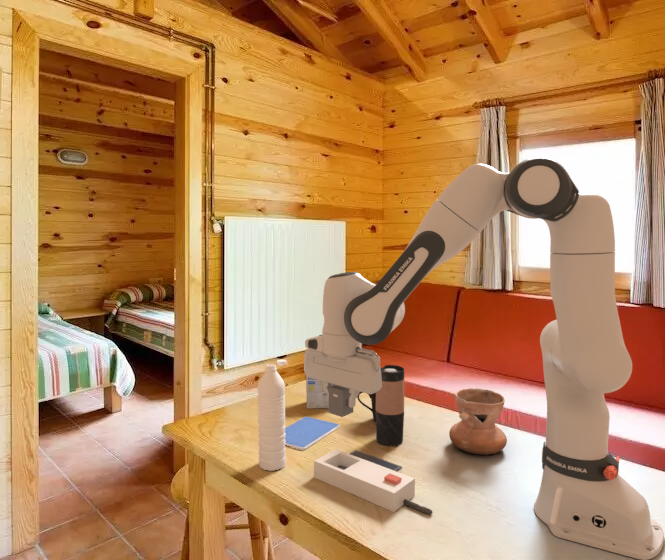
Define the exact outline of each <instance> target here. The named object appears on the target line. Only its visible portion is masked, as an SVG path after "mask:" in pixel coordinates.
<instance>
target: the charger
mask: <svg viewBox="0 0 665 560" xmlns="http://www.w3.org/2000/svg"><path fill="white" fill-rule="evenodd" d="M350 396H351V393H349V388H345V387H342V386H338V385H333V386H330V387H329V408H328V414H331V415H335V416H338V417H341V418H343V417H346V416H348V415H350V414H352V413H354V407H352V408H350V407H347V406H346V399H347V398H350Z"/></svg>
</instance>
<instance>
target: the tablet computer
mask: <svg viewBox="0 0 665 560" xmlns="http://www.w3.org/2000/svg"><path fill="white" fill-rule="evenodd" d="M340 428H341V425H340V424H339V423H335V422H331V421H327V420H323V419H319V418H314V417H310V416H304V417H302V418H300V419H298V420H297V421H295V422H293V423H291V424H289V425H288V426H285V441H286V444H285V445H287V446H291V447H294V448H297V449H296V450H298V449H301V450H300V451H306V450H307V449H308V448H309V447H312V446H313V445H314V444H316V443H317V442H319V441H320V440H322V439H323V438H325V437H326V436H328V435H330V434H331V433H333V432H334V431H336V430H338V429H340ZM287 446H286V447H287ZM291 447H290V448H291ZM294 448H293V449H294Z"/></svg>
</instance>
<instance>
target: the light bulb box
mask: <svg viewBox="0 0 665 560" xmlns="http://www.w3.org/2000/svg"><path fill="white" fill-rule="evenodd" d="M305 376H306V375H305ZM305 378H306V379H305V381H306V382H305V383H306V384H305V385H306V386H305V388H306V391H305V392H306V393H305V394H306V396H305V397H306V409H307V408H308V409H329V401H328V400H327V393H326V391H325V388H324V386H323V381H320V380H317V379H313V378H309V377H307V376H306V377H305ZM333 385H335V384H333ZM333 385H332V386H333Z"/></svg>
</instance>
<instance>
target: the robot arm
mask: <svg viewBox="0 0 665 560" xmlns="http://www.w3.org/2000/svg"><path fill="white" fill-rule="evenodd" d="M611 209H612V208H611V206H610V203H609V202H608V200H607V199H606V198H605V197H603V196H602V195H599V194H595V193H592V192H580V190H579V189H578V187H577V185H576V184H575V183H574V181H573V180H572V178H571V176H570V175H569V172H568V171H567V170H566V169H565V168H564V166H563V165H561V163H559V162H558V161H557V160H555V159H553V158H550V157H546V156H533V157H529V158H526V159H523V160H522V161H521V162H519V163H518V164H517V165H515V167H514V168H513V169H512V170H510V171H509V172H501V171H498V170H497V169H496V168H494V167H493V166H490V165H488V164H486V163H474V164H471V165H468V167H466V169H464V170H463V171H462V172H461V173H459V174H458V175H457V176H456V177H455V178H454V179H453V181H451V182H450V183H449V184H448V185H447V187H445V189H444V190H443V191H442V192H441V193H440V195H439V196H438V197H437V199H435V201H434V202H433V203H432V205H431V206H430V208H429V209H428V211H427V212H426V214H425V215H424V217H423V218H422V220H421V222H420V224H419V225H418V227H417V229H416V231H415V232H414V234H413V236H412V238H411V240H409V242H408V244H407V246H406V247H405V250H403V252H402V253H401V254H400V256H399V257H398V258H397V259H396V260H395V262H394V263H392V265H391V267H390V268H389V269H388V270H387V271H386V272H385V274H384V275H383V276H382V277H381V278H380V280H378V282H377V283H373V282H371V281H370V280H368V279H367V278H365V277H364V276H362V274H360V273H359V272H357V271H348V272H342V273H341V272H340V273H336V274H332V275H330V276H329V277H328V278H327V279H326V280H325V281H324V282H325V283H324V286H323V287H324V288H323V294H322V296H323V297H322V315H323V318H324V319H323V325H322V326H323V327H322V332H321V333H322V334H319V335H317V336H312V337H310V338H307V339H305V341H304V345H305V348H306V350H305V351H304V355H303V356H304V358H303V371H304V374H305V376H307V377H309V378H313V379H317V380H320V381H323V386H324V388H325V391H326V393H327V400H328V401H329V387H330V386H332V385H333V384H335V385H338V386H342V387H345V388H349V393H351V396H350V398H347V399H346V406H347V407H350V408H352V407H353V408H355V406H356V400H357V399H358V398H357V396H358V395H359V393H360V392H363V393H362V394H367V395H368V394H374V393H376V392H378V391H379V390H380V389H381V387H382V378H381V368H382V367H381V357H380V356H379V354H377V353H376V351H375V350H372V349H366V348H363V347H362V345H368V346H373V345H377V344H381V343H382V342H383V341H384V340H386V339H387V338H388V336H389V335H390V334H391V333H392V331H394V330H395V329H396V328H397V327H398V326H399V325H400V324H401V323H402V322H403V320H404V318H405V314H406V304H405V301H406V300H407V299H408V298H409V297H410V295H411V294H412V293H413V291H414V290H416V288H417V287H418V286H419V284H421V283H422V281H423V280H424V279H425V278H426V277H427V276H428V275H430V273H431V272H433V271H434V270H435V269H436V268H438V267H440V266H441V265H442V264H444V263H447V262H448V261H449V260H451V259H453V258H455V257H456V256H457V255H458V254H460V253H461V252H462V251H464V250H465V249H466V248H467V247H469V245H470V244H471V243H472V242H473V241H475V239H476V238H477V237H478V236H479V235H480V233H481V232H482V231H483V230H484V229H485V227H487V225H488V224H489V223H490V222H491V221H492V219H493V218H495V216H497V215H498V214H499V213H501V212H503V211H507V212H510V213H512V214H514V215H517V216H520V217H521V218H522V217H524V218H526V219H540V220H543V221H544V222H545V223H546V225H547V227H548V230H549V235H550V238H549V239H550V248H549V249H550V253H549V255H550V257H549V268H550V269H549V281H550V282H549V284H550V285H549V293H550V297H551V300H552V303H553V306H554V311H555V317H556V319H554V320H552V321H550V322H548V323H547V324H546V325H545V326H544V327H543V328H542V330H541V332H540V333H541V334H540V337H539V345H540V349H541V355H542V368H543V369H542V370H543V378H544V379H543V381H544V388H545V397H546V423H545V424H546V425H545V426H546V429H545V430H546V431H545V441H543V445H542V451H541V463H542V464H541V466H542V467H541V469H542V476H541V477H542V478H541V482H540V487H539V489H538V490H539V491H538V493H537V497H536V499H535V502H534V504H533V510H534V513H535V515H536V516H537V517H538V518H539V519H540V520H541V521H542V522H543V523H544V524H546V526H547V527H548V529H549V530H550V532H551V533H552V534H553V536H555V537H557V538H559V539H560V538H561V539H563V540H564V539H565V540H568V541H571V542H574V543H579V544H582V545H585V546H589V547H593V548H596V549H600V550H604V551H608V552H611V553H614V554H619V555H622V556H627V557H629V558H633V559H637V560H650V559H653V558H655V557H656V556H658V555H659V554H660V552H661V551H662V549H663V547H664V544H665V535H664V529H663V527H662V526H661V525H660V524H659V522H658V521H656V520H654V519H652V518H651V513H650V507H649V505H648V502H647V500H646V498H645V497H644V496H643V494H641V493H640V492H639V491H638V490H637V489H635V487H633V486H632V485H631V484H630V483H629V482H627V481H626V480H625V479H624V478H623V477H622V476H621V475H620V474H619V472H620V471H619V469H620V466H619V464H620V456H619V455H617V456H616V458H615V457H614V456H613V455H612V454H611V453H610V452H609V451H608V448H609V434H610V433H609V431H610V418H611V417H610V411H609V407H608V405H607V402H606V398H605V394H610V393H613V392H615V391H618V390H619V389H621V388H623V387H624V386H625V385H626V384H627V382H628V381H629V380H630V378H631V375H632V372H633V361H632V358H631V355H630V354H629V353H630V352H629V351H628V349H627V347H626V345H625V339H624V337H623V331H622V325H621V320H620V316H619V311H618V305H617V299H616V289H615V288H616V286H615V285H616V281H615V280H616V277H615V275H616V268H615V267H616V265H615V264H616V240H615V239H616V238H615V229H614V228H615V227H614V219H613V214H612V210H611ZM359 396H360V395H359Z"/></svg>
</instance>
